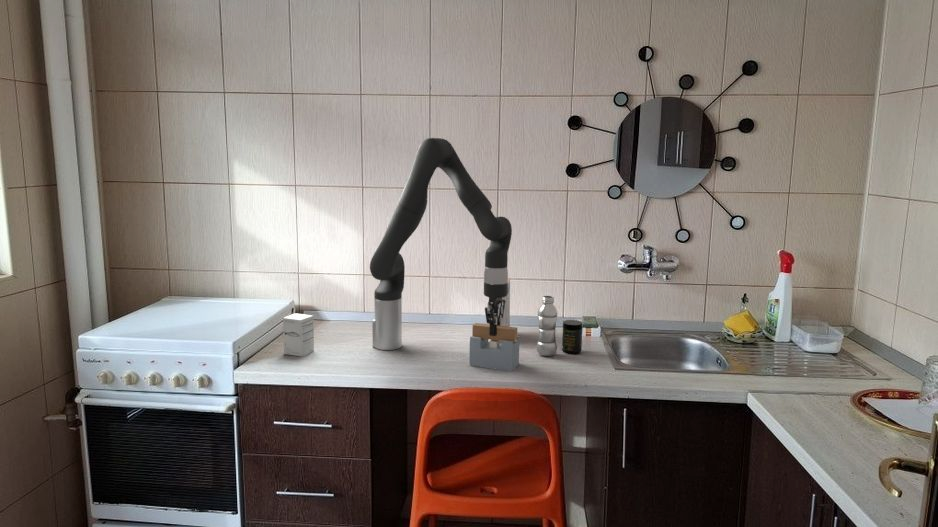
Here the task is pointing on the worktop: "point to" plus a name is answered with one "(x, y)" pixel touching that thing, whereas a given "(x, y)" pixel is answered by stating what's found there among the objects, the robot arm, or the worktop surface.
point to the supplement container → (572, 337)
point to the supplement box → (298, 334)
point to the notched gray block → (494, 353)
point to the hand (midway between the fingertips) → (494, 333)
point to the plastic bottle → (547, 327)
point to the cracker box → (506, 309)
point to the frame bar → (502, 332)
